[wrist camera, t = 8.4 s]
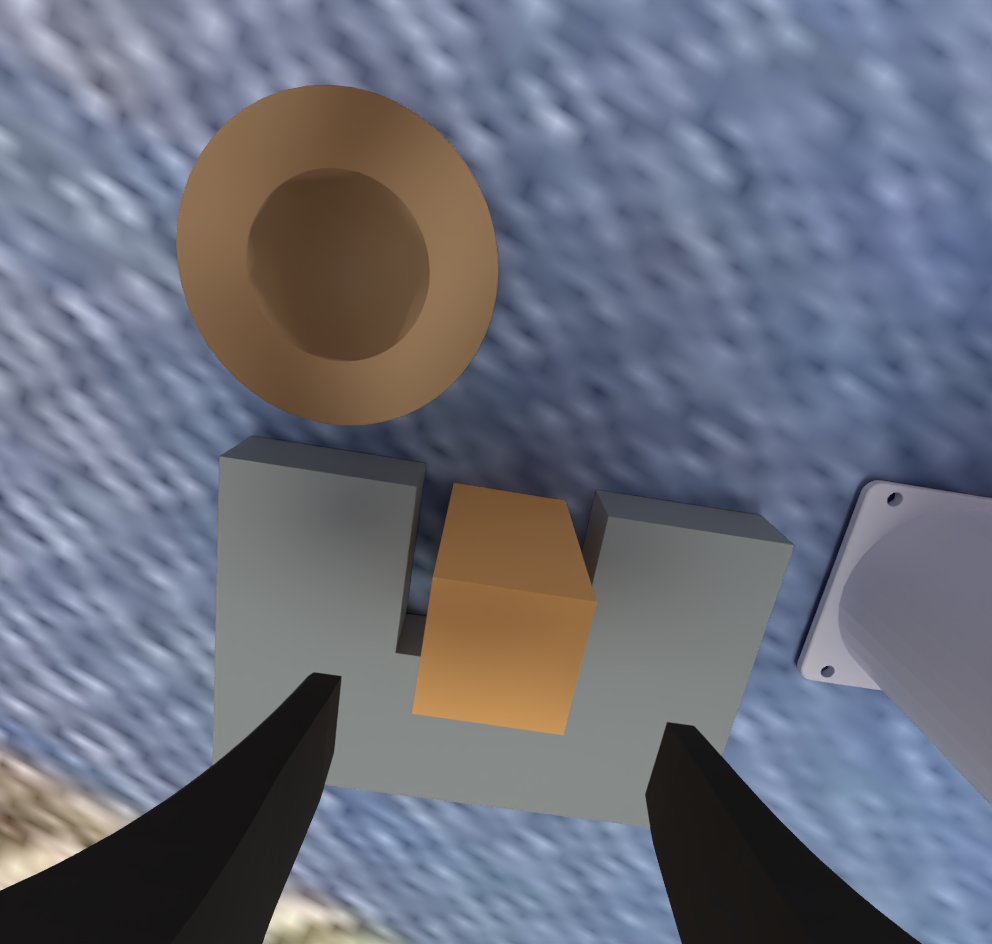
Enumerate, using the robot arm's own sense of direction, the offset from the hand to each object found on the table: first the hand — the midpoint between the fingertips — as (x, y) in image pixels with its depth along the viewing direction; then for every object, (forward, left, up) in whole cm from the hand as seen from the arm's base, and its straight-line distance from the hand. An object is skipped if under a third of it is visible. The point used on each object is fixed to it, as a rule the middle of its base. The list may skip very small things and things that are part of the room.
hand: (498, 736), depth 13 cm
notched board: (0, +3, -9) cm, 10 cm away
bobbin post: (+5, -9, -9) cm, 14 cm away
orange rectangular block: (0, 0, -9) cm, 9 cm away
